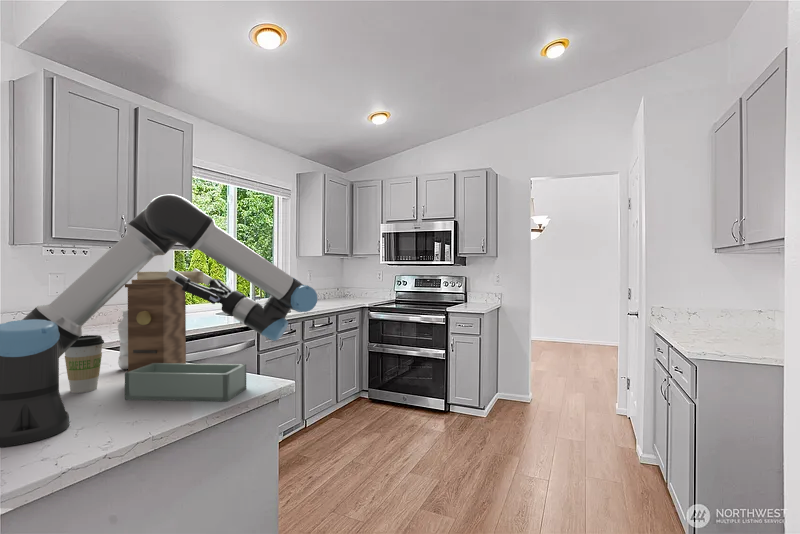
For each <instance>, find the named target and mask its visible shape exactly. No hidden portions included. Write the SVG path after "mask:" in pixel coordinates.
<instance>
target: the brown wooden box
mask: <svg viewBox="0 0 800 534" xmlns="http://www.w3.org/2000/svg"><path fill="white" fill-rule="evenodd" d="M124 288H127V310H128V371H127V372H129V371H132V370H135V369H138V368H140V367H143V366H146V365H149V364H152V363H186V364H187V353H186V352H187V351H186V350H187V342H186V340H187V339H186V338H187V337H186V336H187V335H186V333H187V331H186V330H187V329H186V325H187V324H186V322H187V321H186V318H187V317H186V316H187V315H186V313H187V312H186V305H187V304H186V291H183V290H182V288H183V287H182V286H181V285H179V284H172V280H137V279H131V283H126V284H125V285H124Z"/></svg>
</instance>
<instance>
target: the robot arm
mask: <svg viewBox="0 0 800 534" xmlns="http://www.w3.org/2000/svg"><path fill="white" fill-rule="evenodd" d="M215 222H216V221H215V219H214V218H212V217H211V216H210V215H208V214H206V213H205V212H204V211H203V210H201V209H200V208H199V207H197V206H196V205H195V204H193V203H192V202H191V201H190V200H188V199H186V198H185V197H182V196H180V195H177V194H173V193H172V194H171V193H170V194H169V193H168V194H162V195H159V196H156V197H155V198H153V199H152V200H150V202H149V203H148V204H147V205H146V207H145V208H144V209H143V210H142V211H140V212H139V213H138V214H137V215H136V216H135V217H134V218H133V219H132V220H131V221H129V222H128V223H127V225H126V234H125V235H124V236H123V237H121V239H119V240H118V241H117V242H116V243H115V244H114V245H113V246H112V247H111V248H110V249H108V250H107V251H106V252H105V253H104V254H103V255H102V256H101V257H100V258H98V259H97V260H96V261H95V262H94V263H93V264H92V265H91V266H90V267H89V268H87V270H85V272H83V273H82V274H81V275H80V276H79V277H78V278H77V279H76V280H74V282H72V283H71V284H70V285H69V286H68V287H67V288H66V289H65V290H63V292H62V293H59V295H58V296H57V297H56V298H55V299H54V300H53V301H51V303H49V304H43V305H37V306H35V308H33V309H32V310H31V311H30V312H29V313H28V314H27V315H26V316H24V318H22V319H21V320H20V319H18V320H12V321H8V322H3V323H0V448H3V447H10V446H18V445H23V444H28V443H32V442H36V441H40V440H45V439H46V438H50V437H53V436H56V435H57V434H59V433H62V432H64V431H65V430H67V429H68V428H69V426H70V414H69V413H68V411H67V410H66V408H65V404H64V402H63V399H62V395H61V393H60V357H62V356H63V355H64V354H65V351H66V350H67V349H68V348H69V347H70V346H71V345H72V344H74V343H75V342H76V341H77V340H78V339H79V338H80V337H81V336H83V331H82V329H83V326H84V325H85V324H86V323H87V322H88V321H89V320H91V318H92V317H93V316H94V315H95V314H96V313H97V312H98V311H99V310H100V309H101V308H103V307H104V306H105V305H106V304H107V302H108V301H110V300H111V299H112V298H113V297H114V296H115V295H116V294H117V293H118V292H119V291H120V290H121V289H122V288H123V287H125V284H128V282H129V281H130V280H132V279H133V277H135V276H136V275H137V273H138V272H141V270H142V269H143V268H144V267H145V266H146V265H147V264H148V263H149V262H150V261H151V260H152V259H153V258H154V257H156V256H165V255H166V254H168V252H169V251H170V250H171V249H173V247H174V246H175V245H176V244H177V243H178V244H181V245H183V246H184V247H186V248H188V249H189V250H191V251H192V250H198V251H199V252H201V253H203V254H204V255H206V256H208V257H209V258H211V259H213V260H214V261H216V262H217V263H219V264H221V265H222V266H224V267H225V268H226V269H229V270H230V271H232V272H233V273H234V274H236V275H238V276H239V277H240V278H242V279H244V280H246V281H247V282H249V283H251V285H253V286H255V287H257V288H259V289H260V290H261V291H264V292H265V293H266V294H268V295H269V297H268V298H267V300H266V301H265V302H264V304H263V305H262V304H261V303H258V302H257V300H256V301H255V300H254V299H252V298H251V297H249V296H246V295H245V294H244V293H242V292H240V291H238V290H233V289H231V288H230V287H229V286H228V285H226V284H225V283H224V282H223V281H222V280H221V279H219V278H217V279H216V278H213V277H211V276H209V275H208V274H206V273H204V272H203V283H202V284H204V285H202V284H201V283H198V284H197V283H194V282H192V281H190V280H191V279H190V278H187V277H185V276H183V275H182V274H180V273H178V272H177V270H175V269H173V268H169V270H168V271H169V272H168V273H167V275H166V277H167V278H169V279H171V280H172V281H174V282H176V283H177V284H179V285H181V286H182V287H183V288H182V290H183V291H185V293H186V292H187V293H188V294H190V295H193V296H195V297H197V298H200V299H201V300H205V301H207V302H209V303H210V304H212V305H215V304H221V311H222V313H224V314H226V315H228V316H229V317H232V318H234V319H235V320H236V321H238V322H239V324H240V325H245V326H246V327H248V328H250V330H252V331H254V332H256V333H257V334H259V335H261V336H262V337H265V338H267V339H269V340H271V341H272V342H275V341H278V340H279V339H281V338H282V336H283V335H284V334H285V332H286V329H287V328H288V326H289V321H288V320H287V318H286V317H287V315H288V313H289V312H290V310H292V311H295V312H297V313H308V312H310V311H312V310H313V309H314V308H315V307H316V305H317V303H318V294H317V292H316V290H315V289H314V288H313V287H311V286H310V285H307V284H303V283H302V282H301V281H299V280H298V279H296V278H295V277H293V276H291V275H290V274H288V273H287V272H286V271H284V270H282V269H281V268H280V267H278V266H276V265H275V264H274V263H272V262H270V261H269V260H267V259H266V258H265V257H263V256H262V255H260V254H259V253H257V252H255V251H254V250H253V249H252V248H250V247H248V246H247V245H245V244H244V243H243V242H241V241H240V240H238V239H236V238H235V237H233V236H232V235H231V234H229V233H227V232H226V231H225V230H223V229H222V228H220V227H219V226H218V225H216V223H215ZM192 271H201V270H200V269H198V268H193V270H192Z"/></svg>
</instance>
